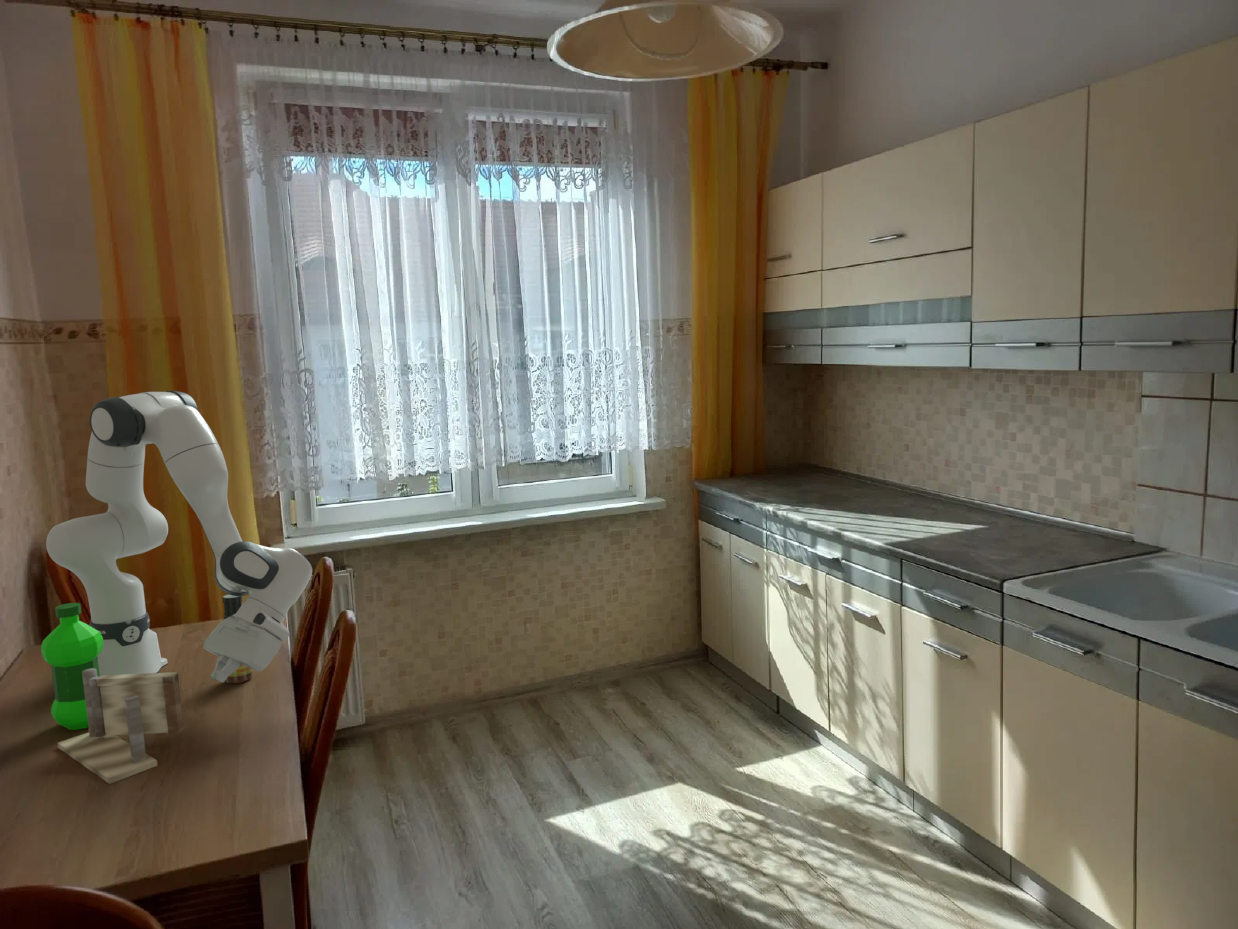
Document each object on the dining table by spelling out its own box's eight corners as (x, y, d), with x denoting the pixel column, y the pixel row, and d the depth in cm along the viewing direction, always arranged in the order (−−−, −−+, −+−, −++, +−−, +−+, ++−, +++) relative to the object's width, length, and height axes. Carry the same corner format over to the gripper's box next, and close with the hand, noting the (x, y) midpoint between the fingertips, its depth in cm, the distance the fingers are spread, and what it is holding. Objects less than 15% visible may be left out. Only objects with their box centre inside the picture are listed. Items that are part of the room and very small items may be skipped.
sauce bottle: (242, 685, 189) (233, 600, 187) (217, 684, 191) (209, 599, 188) (259, 674, 196) (252, 592, 193) (236, 673, 197) (228, 591, 194)
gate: (93, 737, 162) (86, 679, 160) (99, 732, 164) (92, 675, 162) (178, 733, 162) (172, 676, 160) (183, 729, 164) (177, 672, 162)
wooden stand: (58, 747, 161) (49, 678, 159) (103, 732, 167) (95, 665, 166) (109, 784, 146) (100, 707, 145) (157, 765, 153) (149, 692, 151)
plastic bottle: (76, 713, 177) (62, 598, 174) (123, 714, 176) (109, 598, 173) (39, 735, 167) (23, 613, 164) (88, 735, 166) (73, 613, 163)
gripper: (221, 605, 181) (179, 662, 174) (272, 620, 168) (229, 683, 162) (243, 619, 185) (203, 676, 178) (294, 635, 172) (253, 697, 166)
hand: (216, 680), depth 170 cm, fingers closed
